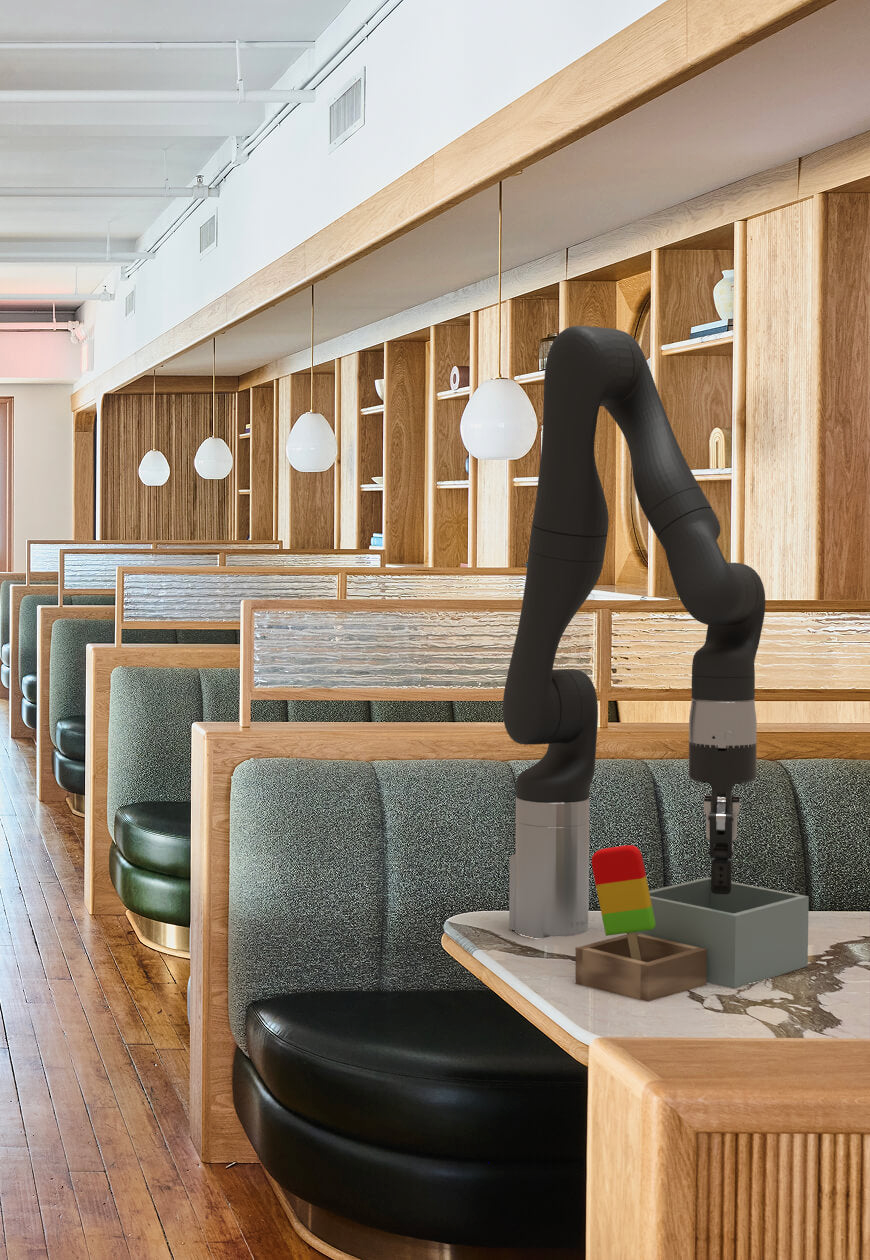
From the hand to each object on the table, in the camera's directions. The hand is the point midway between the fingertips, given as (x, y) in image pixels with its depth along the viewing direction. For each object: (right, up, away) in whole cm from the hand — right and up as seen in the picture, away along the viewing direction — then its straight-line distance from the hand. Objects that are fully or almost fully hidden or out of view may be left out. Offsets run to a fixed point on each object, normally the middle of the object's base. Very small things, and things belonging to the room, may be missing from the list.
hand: (721, 890), depth 168 cm
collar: (-10, -9, -8) cm, 16 cm away
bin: (0, -9, 0) cm, 9 cm away
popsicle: (-10, -9, -8) cm, 15 cm away
